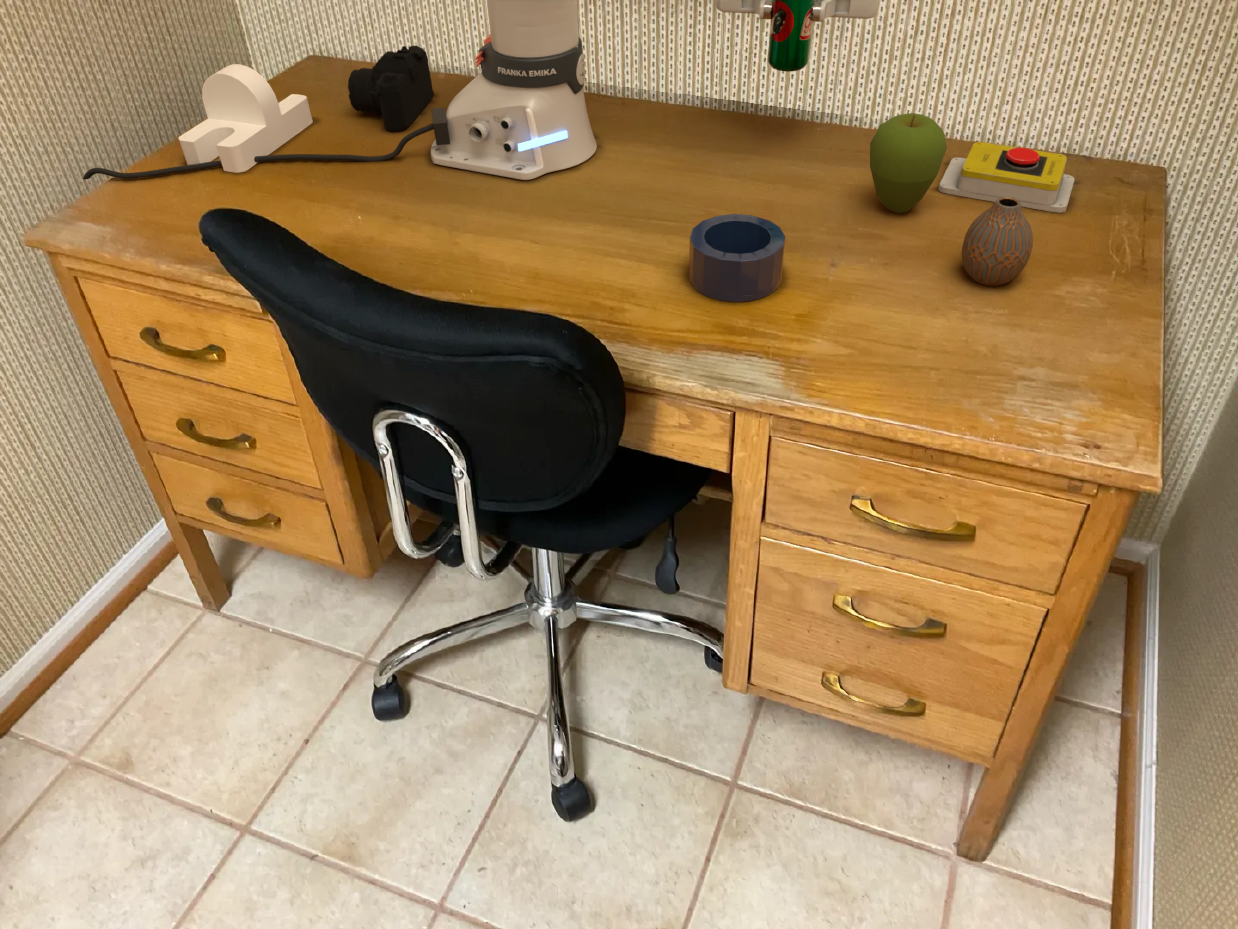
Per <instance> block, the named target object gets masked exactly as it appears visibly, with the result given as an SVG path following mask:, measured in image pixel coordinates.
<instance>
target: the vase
mask: <svg viewBox="0 0 1238 929" xmlns="http://www.w3.org/2000/svg"><path fill="white" fill-rule="evenodd" d="M1033 235H1034V234H1033V230H1032V226H1031V224H1030V222H1029V220H1028V218H1027V216H1026V215H1025V213H1024V211H1023V207H1021V203H1020V201H1019V200H1017V199H1015V198H1012V197H1001V198H998V199H997V200H996V201H995V202H993V204H991V206H990V207H988V208H987V209H986V210H984V211H983V212H982V213H980V214H979V215H978V216H976V218H975V219H973V221H972V222H971V224H970V225H969V227H968V229H967V231H966V233H965V235H964V238H963V240H962V245H961V247H962V248H961V260H962V265H963V268H964V269H965V272H966V273H967V275H968V276H969V277H970V278H971V279H972V280H973V281H975V282H976V283H978V284H982V285H985V286H992V287H993V286H996V287H997V286H1002V285H1005V284H1007V283H1009V282H1011V281H1013V280H1014V279H1016V278H1017V277H1018V276H1019V275H1020V274H1021V273H1022V272H1023V270H1024V269H1025V267H1026V266H1027V264H1028V262H1029V260H1030V257H1031V255H1032V251H1033V245H1034V237H1033Z"/></svg>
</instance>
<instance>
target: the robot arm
mask: <svg viewBox="0 0 1238 929" xmlns="http://www.w3.org/2000/svg"><path fill="white" fill-rule="evenodd" d="M577 1H578V0H486V7H487V15H488V16H487V17H488V25H489V32H490V34H488V36H487V37H486V38H485V39H484V41H483V45H482V46H481V47H480V48H479V49H478V54H477V55H476V56H475V58H474V60H475V61H476V62H475V67H480V70H481V71H480V73H478V74H477V75H476V76H475V77H474V78H473V79H472V80H471V81H470V82H469V83H467V84H466V85H465V86H464V87H463V88H462V89H461V90H459V92H458V93H457V94H456V95H455V96H454V97H453V98H452V100H451V101H450V103H449V104H448V107H447V109H446V107H435V108H431V118H432V122H431V123H430V124H427V125H425V126H423V127H421V128H417V129H416V130H413V131H411V132H409V133H408V134H406V135H404V137H402V138H401V140H400V141H399V143H398V145H396V148H394V150H393V151H391V152H390V153H386V154H384V155H378V156H369V155H357V154H323V153H321V154H318V153H288V154H269V155H267V156H256V157H255V158H254V161H255V162H258V163H262V162H263V163H264V162H275V161H305V160H306V161H352V162H362V163H372V162H373V163H375V162H386V161H390V160H393V159H394V158H396V157H398V156H399V155H400V154H401V153H402V151H403V149H404V148H405V145H406V144H407V143H409V142H410V141H411V140H413V139H415V138H417V137H419V136H421V135H423V134H426V133H428V132H430V131H433V133H434V141H433V142H432V144H431V147H430V159H431V162H432V163H433V164H434V165H439V166H444V167H450V168H455V169H460V170H466V171H472V172H478V173H482V174H488V175H494V176H500V177H504V178H505V177H506V178H511V179H516V180H521V181H528V180H529V181H530V180H534V179H536V178H539V177H541V176H543V175H545V174H549V173H552V172H556V171H557V172H558V171H562V170H566V169H570V168H573V167H575V166H578V165H580V164H582V163H584V162H586V161H588V160H589V159H590V158H591V157H592V156H593V155H595V153H596V151H597V148H598V143H597V141H596V137H595V135H594V133H593V129H592V126H591V123H590V118H589V115H588V114H589V113H588V108H587V104H586V99H585V98H586V97H585V92H584V86H585V81H586V68H585V67H586V65H585V54H584V49H583V41H582V38H581V37H580V36H579V25H578V24H579V20H578V19H579V18H578V2H577ZM879 2H880V0H815V1H814V6H813V11H812V13H813V15H812V20H811V21H812V22H815V23H824V21H825V19H827V18H840V19H842V18H843V19H859V20H860V19H862V20H863V19H864V20H869V19H870V20H871V19H873V18H875V17H877V13H878V9H879V8H878V7H879ZM715 7H716V8H715V9H717V10H718V11H720V12H722V13H733V14H753V15H758V20H771V11H772V0H715ZM217 167H223V166H222V163H221V160H220V159H219V160H212V161H211V162H206V163H199V164H192V165H187V164H186V165H177V166H173V167H166V168H159V169H153V170H146V171H138V172H119V171H115V170H112V169H108V168H104V167H93V168H90V169H88V170H87V171H86V172H85V174H84V175H83V177H82V180H89V179H91V178H92V177H93V176H94V175H96V174H100V175H105V176H109V177H112V178H117V179H123V180H129V179H143V178H150V177H157V176H164V175H170V174H176V173H185V172H190V171H197V170H204V169H212V168H217Z"/></svg>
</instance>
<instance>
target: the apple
mask: <svg viewBox="0 0 1238 929" xmlns="http://www.w3.org/2000/svg"><path fill="white" fill-rule="evenodd" d="M947 150H948V149H947V139H946V134H945V132H944V129H942V127H941V126H940V124H938V123H937V121H935V120H934V119H932V118H931V117H930V116H927V115H925V114H921V113H915V112H909V113H902V114H899V115H895V116H893V117H891V118H889V119H887V120H886V121H884V122H882V123H881V124H879V126H878V128H877V130H876V132H875V134H874V135H873V137H872V139H871V141H870V142H869V168H870V172H871V178H872V181H873V186H874V191H875V196H876V197H877V198H878V200H879V201H880V202H881V203H882V205H883V206H884V208H886V209H887V210H889V211H891V212H894V213H896V214H904V213H908V212H910V211H911V209H913V208H914V207H915V206H916V205H917V204H918V203H919V202H921V201H922V200H923V198H924V196H925V195H926V194H927V193H928V190H929V189H930V187H932V186H931V185H932V184H933V182H934V181H935V180H936V178H937V176H938V174H939V172H940V170H941V166H942V164H943V160H944V158H945V155H946V151H947Z"/></svg>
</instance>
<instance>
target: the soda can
mask: <svg viewBox="0 0 1238 929" xmlns="http://www.w3.org/2000/svg"><path fill="white" fill-rule="evenodd" d="M814 1H815V0H772V11H771V19H770V23H769V25H770V26H769V37H768V53H767V62H768V64H769V65H770V67H771V68H773V69H774V70H776V71H779V72H785V73H786V72H789V73H790V72H797V71H801V70H803V69H804V68H805V67H806V66H807V65H808V63H809V61H810V50H811V41H812V40H811V39H812V31H813V30H812V29H813V21H811V20H812V15H813V13H812V11H813V6H814Z"/></svg>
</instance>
